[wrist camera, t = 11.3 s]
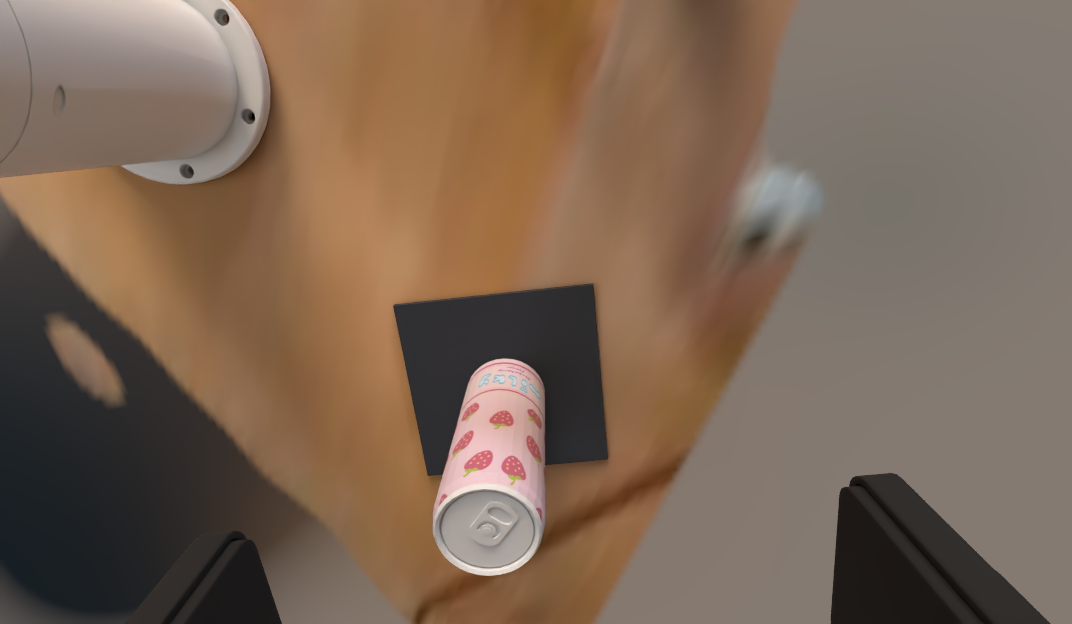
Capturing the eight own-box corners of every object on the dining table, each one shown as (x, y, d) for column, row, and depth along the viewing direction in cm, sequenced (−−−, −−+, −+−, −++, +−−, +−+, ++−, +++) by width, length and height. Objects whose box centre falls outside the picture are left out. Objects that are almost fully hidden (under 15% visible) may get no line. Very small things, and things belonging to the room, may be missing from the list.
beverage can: (550, 362, 40) (555, 492, 26) (538, 431, 42) (536, 587, 28) (472, 350, 40) (434, 475, 26) (463, 420, 42) (422, 572, 28)
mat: (394, 304, 39) (393, 305, 39) (592, 283, 39) (593, 284, 39) (428, 473, 44) (427, 476, 44) (607, 457, 43) (607, 459, 43)
